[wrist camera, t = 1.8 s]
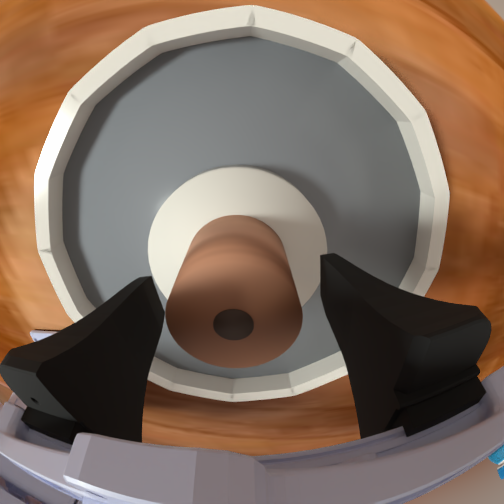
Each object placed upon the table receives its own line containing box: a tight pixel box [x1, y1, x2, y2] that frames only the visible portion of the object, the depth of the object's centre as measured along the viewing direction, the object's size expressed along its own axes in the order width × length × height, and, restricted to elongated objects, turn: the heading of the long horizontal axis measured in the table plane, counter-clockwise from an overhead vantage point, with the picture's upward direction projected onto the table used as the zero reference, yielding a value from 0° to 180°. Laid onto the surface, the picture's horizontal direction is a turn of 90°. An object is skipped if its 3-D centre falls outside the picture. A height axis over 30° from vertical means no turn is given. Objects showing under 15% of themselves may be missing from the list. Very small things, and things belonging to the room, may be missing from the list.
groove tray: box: [34, 5, 450, 402], centre depth 14 cm, size 24×24×2 cm
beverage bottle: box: [488, 445, 504, 479], centre depth 23 cm, size 8×8×20 cm
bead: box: [165, 215, 303, 368], centre depth 11 cm, size 5×5×5 cm
